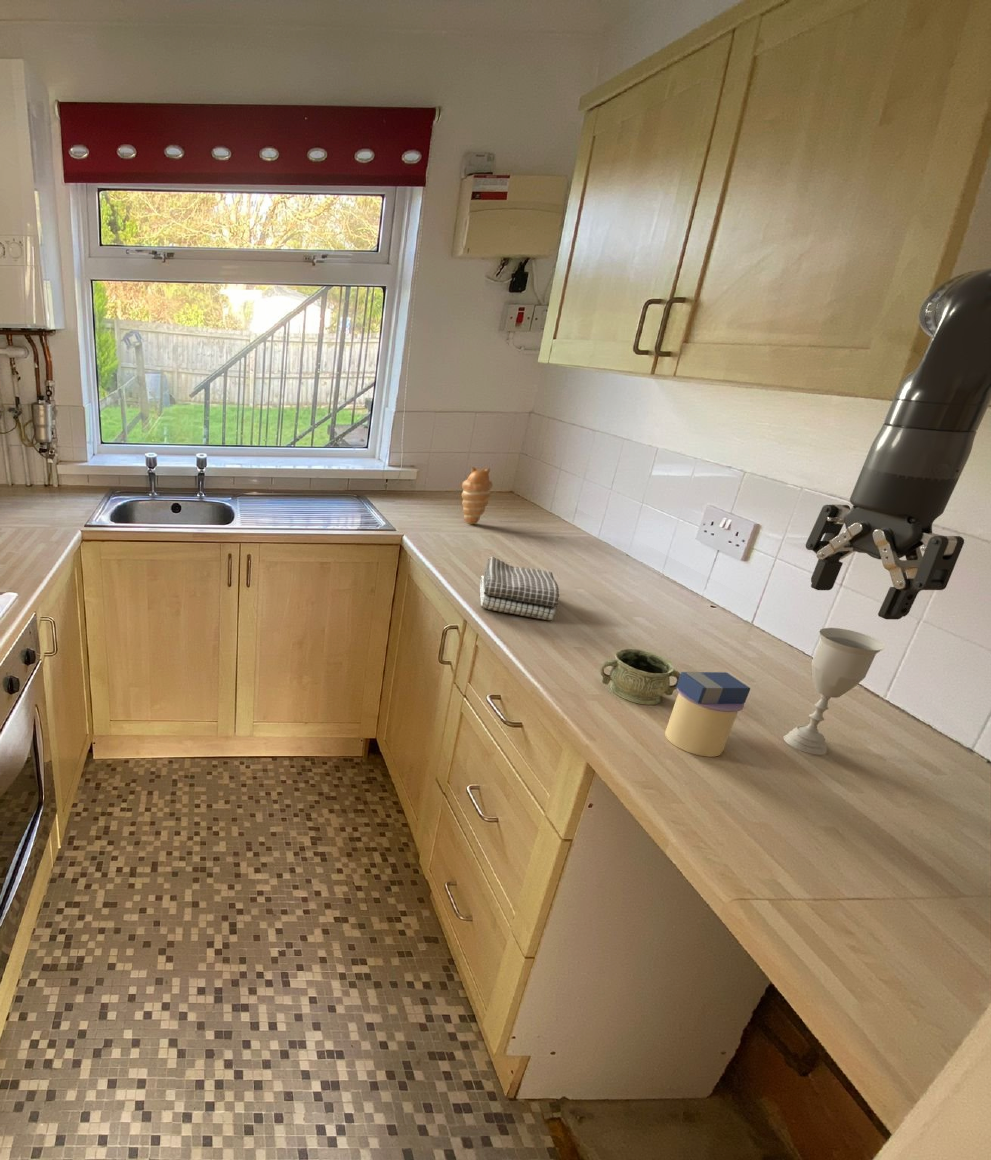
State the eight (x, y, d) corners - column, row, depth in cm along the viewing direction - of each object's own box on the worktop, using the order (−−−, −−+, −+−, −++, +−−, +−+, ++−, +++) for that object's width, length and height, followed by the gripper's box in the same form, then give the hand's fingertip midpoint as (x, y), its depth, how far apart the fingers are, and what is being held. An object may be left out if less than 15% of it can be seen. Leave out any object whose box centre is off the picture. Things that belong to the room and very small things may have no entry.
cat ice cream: (484, 521, 205) (494, 466, 198) (486, 528, 198) (497, 471, 191) (455, 519, 207) (464, 464, 200) (456, 526, 200) (466, 469, 193)
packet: (720, 687, 96) (726, 671, 95) (745, 704, 91) (751, 688, 90) (675, 686, 95) (680, 671, 94) (697, 703, 91) (703, 687, 90)
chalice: (825, 764, 92) (876, 655, 85) (768, 740, 97) (811, 635, 91) (841, 748, 96) (891, 641, 89) (785, 725, 101) (829, 623, 94)
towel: (479, 612, 139) (485, 579, 136) (478, 583, 155) (484, 553, 152) (555, 624, 134) (564, 590, 131) (547, 593, 150) (554, 562, 147)
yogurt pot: (720, 736, 98) (738, 689, 95) (730, 765, 92) (749, 716, 88) (659, 721, 102) (674, 676, 98) (664, 747, 95) (680, 700, 92)
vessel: (668, 687, 111) (678, 655, 109) (682, 713, 104) (694, 680, 101) (591, 673, 115) (600, 642, 113) (599, 698, 108) (609, 665, 105)
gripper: (1020, 484, 63) (947, 629, 70) (879, 456, 77) (828, 580, 83) (948, 483, 63) (881, 629, 69) (819, 455, 76) (772, 580, 82)
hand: (852, 602), depth 76 cm, fingers open, 8 cm apart
